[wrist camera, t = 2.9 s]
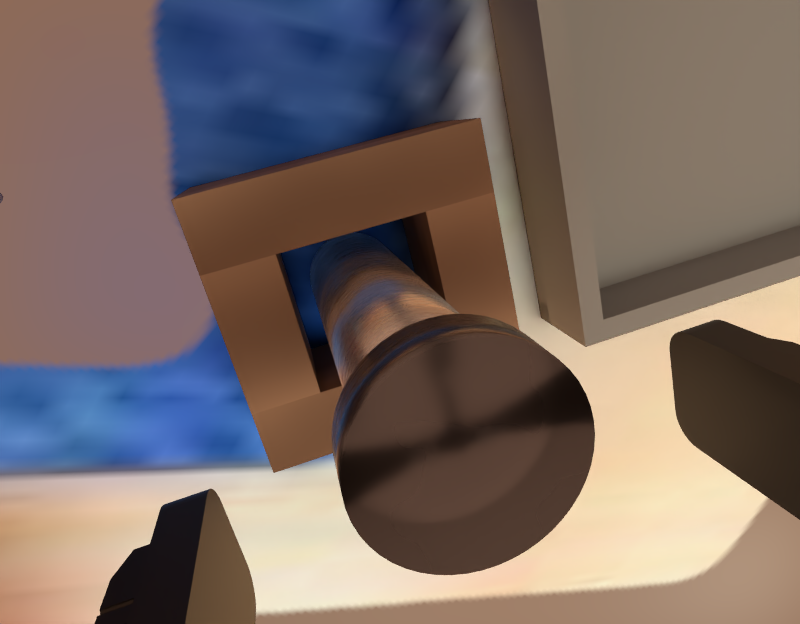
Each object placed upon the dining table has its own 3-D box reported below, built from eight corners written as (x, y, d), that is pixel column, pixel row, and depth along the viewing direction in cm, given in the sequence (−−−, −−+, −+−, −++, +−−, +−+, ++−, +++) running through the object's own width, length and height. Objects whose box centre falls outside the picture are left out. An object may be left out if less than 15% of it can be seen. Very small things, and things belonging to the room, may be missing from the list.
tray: (465, -139, 18) (508, -199, 15) (883, -223, 20) (1001, -291, 17) (541, 318, 24) (585, 346, 20) (866, 213, 26) (954, 224, 22)
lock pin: (280, 236, 20) (305, 389, 8) (392, 205, 21) (576, 301, 9) (314, 342, 22) (379, 610, 9) (418, 310, 22) (608, 523, 10)
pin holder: (189, 187, 19) (171, 200, 15) (440, 121, 20) (480, 118, 17) (272, 416, 22) (273, 473, 18) (487, 346, 23) (529, 386, 20)
